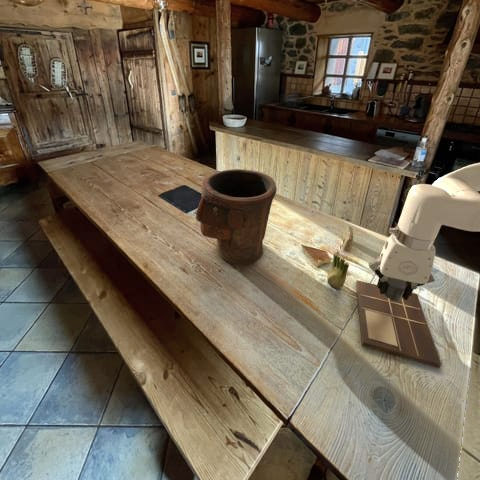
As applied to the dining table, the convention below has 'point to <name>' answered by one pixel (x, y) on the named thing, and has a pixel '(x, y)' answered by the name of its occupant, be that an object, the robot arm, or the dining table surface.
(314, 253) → the shard
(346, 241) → the tan figurine
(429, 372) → the dining table surface
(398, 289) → the slate stone
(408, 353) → the game board
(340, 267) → the fennel bulb
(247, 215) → the clay pot
